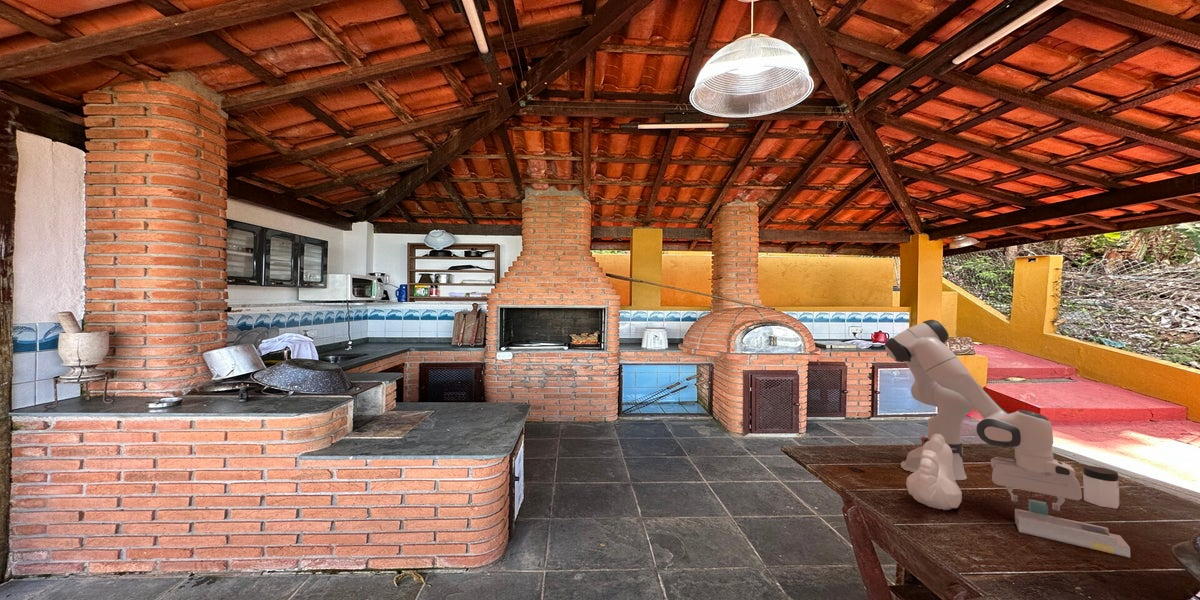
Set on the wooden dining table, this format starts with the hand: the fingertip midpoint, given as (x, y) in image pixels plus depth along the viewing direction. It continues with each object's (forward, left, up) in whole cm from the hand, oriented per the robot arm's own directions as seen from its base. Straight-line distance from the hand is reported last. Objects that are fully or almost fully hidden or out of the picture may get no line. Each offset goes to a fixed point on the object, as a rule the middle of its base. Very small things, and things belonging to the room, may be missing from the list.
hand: (1034, 505), depth 137 cm
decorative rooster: (-27, -4, -7) cm, 28 cm away
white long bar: (+6, -8, -6) cm, 12 cm away
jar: (+22, +38, -7) cm, 44 cm away
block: (+1, +1, -5) cm, 5 cm away
